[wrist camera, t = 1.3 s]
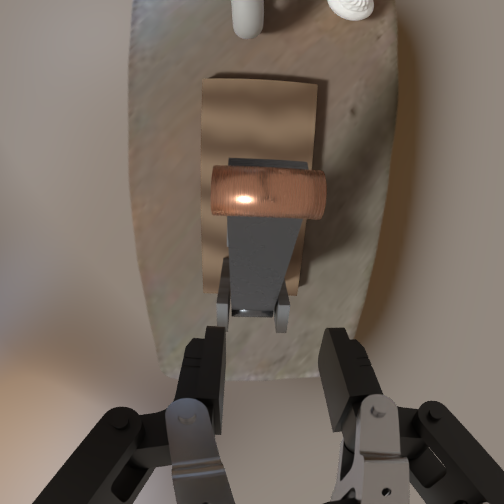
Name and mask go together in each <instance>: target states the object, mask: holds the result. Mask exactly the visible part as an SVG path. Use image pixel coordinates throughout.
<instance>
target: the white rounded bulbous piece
mask: <svg viewBox="0 0 504 504" xmlns="http://www.w3.org/2000/svg"><path fill="white" fill-rule="evenodd" d="M327 1H328V4H329V6H330V8H331V9H332V11H334V13H335V14H337V15H338V16H340V17H341V18H344V19H348V20H352V21H358V20H363V19H365V18H367V17H369V16H370V15H371V13H372V12H373V9H374V2H373V0H327Z"/></svg>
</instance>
